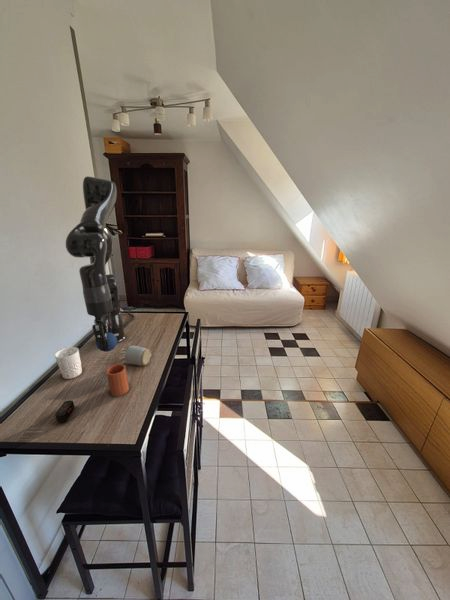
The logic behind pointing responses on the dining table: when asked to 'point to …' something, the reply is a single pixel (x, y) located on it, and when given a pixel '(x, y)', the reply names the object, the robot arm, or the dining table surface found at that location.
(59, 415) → the wireless earbuds
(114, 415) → the dining table surface
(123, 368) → the cup
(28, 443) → the dining table surface
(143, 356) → the ceramic mug
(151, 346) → the dining table surface
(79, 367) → the white cup
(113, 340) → the ball
